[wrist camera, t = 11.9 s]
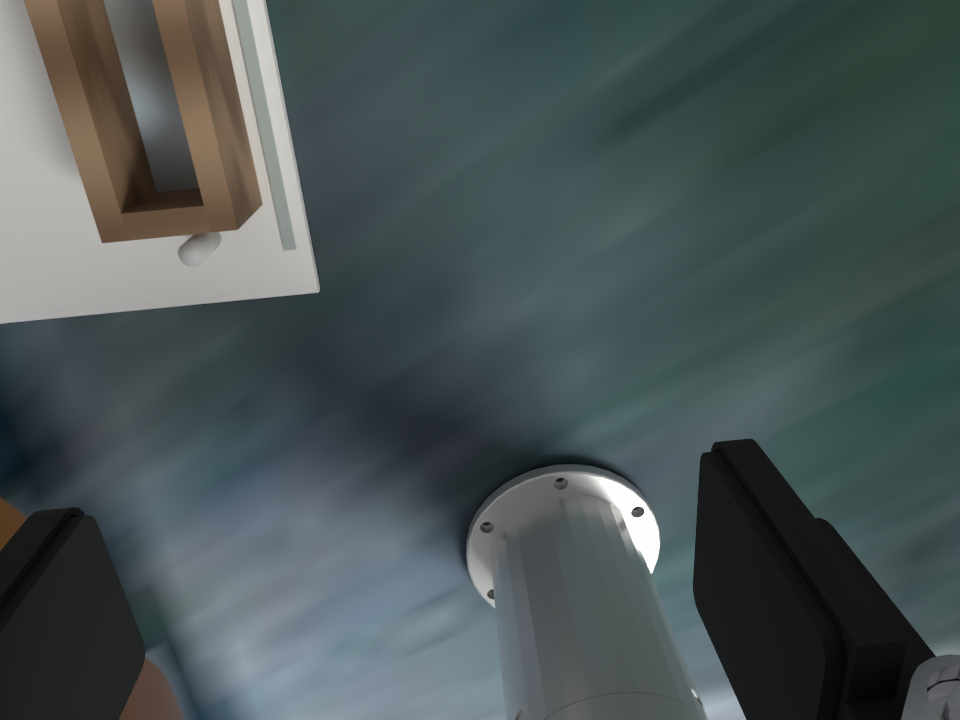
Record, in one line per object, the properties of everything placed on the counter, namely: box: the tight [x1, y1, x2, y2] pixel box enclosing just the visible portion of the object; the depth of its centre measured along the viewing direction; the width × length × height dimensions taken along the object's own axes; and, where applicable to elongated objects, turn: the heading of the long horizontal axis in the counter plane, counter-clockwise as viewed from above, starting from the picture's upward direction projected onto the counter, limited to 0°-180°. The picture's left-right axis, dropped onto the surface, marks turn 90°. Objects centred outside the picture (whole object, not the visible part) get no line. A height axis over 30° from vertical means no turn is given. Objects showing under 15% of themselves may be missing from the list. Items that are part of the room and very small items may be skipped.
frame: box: [24, 0, 263, 243], centre depth 31 cm, size 14×6×5 cm, turn 5°
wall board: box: [0, 0, 320, 324], centre depth 32 cm, size 22×19×4 cm
